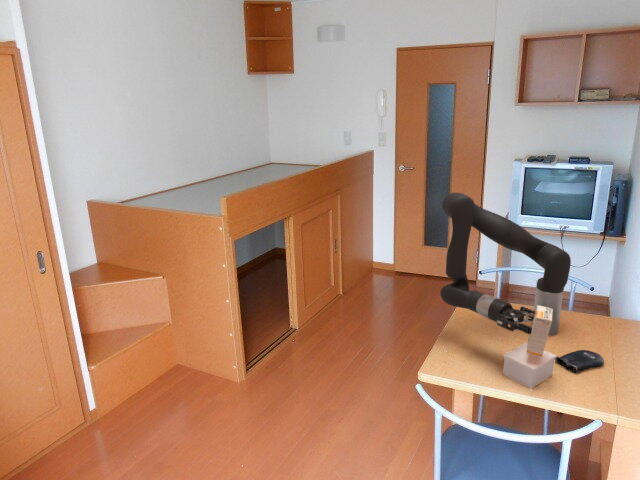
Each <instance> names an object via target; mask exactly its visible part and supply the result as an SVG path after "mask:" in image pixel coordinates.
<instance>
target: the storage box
mask: <svg viewBox="0 0 640 480" xmlns="http://www.w3.org/2000/svg"><path fill="white" fill-rule="evenodd" d="M527 343H528V342H524V343H522V344H521V345H519V346H517V347H515V348H514V349H512V350H510V351H508V352H507V353H504V354H503V355H502V356H503V358H504V359H503V360H504V361H503V370H502V375H503V376H505V377H507V378H509V379H511V380H513V381H515V382H518V383H519V384H522V385H523V386H525V387H527V388H529V389H533V388H534V387H536V386H538V385H539V384H541V383H543V382H544V381H545V380H547V379H549V378H550V377H552V376H553V372H554V365H555V358H556V356H557V355H556V354H554V353H551V352H550V351H547V350H544V351H543V355H542V357H541V356H537V355H534V354H530V353H527Z"/></svg>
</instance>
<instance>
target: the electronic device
mask: <svg viewBox="0 0 640 480" xmlns="http://www.w3.org/2000/svg"><path fill="white" fill-rule="evenodd" d="M554 363H556V364H559V365H560V366H561V367H563V368H564V369H566V370H568V371H571V372H572V373H574V374H576V373H579V372H583V371H586V370H587V371H588V370H589V369H596V368H601V367H602V366H603V365H605V358H604V357H603V356H602V355H601V354H599V353H598V352H594V351H591V350H588V349H579V350H576V351H575V350H574V351H571V352H569V353H566V354H564V355H561V356H557V355H556V358H555V359H554ZM563 363H565V364H563Z"/></svg>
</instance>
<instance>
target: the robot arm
mask: <svg viewBox="0 0 640 480" xmlns="http://www.w3.org/2000/svg"><path fill="white" fill-rule="evenodd" d="M441 207H442V209H443V212H444V214H445V215H446V216H447V217H449V218H450V219H451V223H452V233H451V239H450V242H449V245H448V248H447V251H446V252H447V253H446V259H445V274H446V276H447V277H448V278H450V279H452V283H449V284H448V283H447V284H446V285H444V286H443V287H442V288H441V289H440V293H439V294H440V295H439V296H440V298H441V300H442V301H443V302H444V303H445V304H448V305H449V306H451V307H455V308H456V307H457V308H462V309H467V310H469V311H472V312H474V313H476V314H479V315H480V316H482V317H484V318H486V319H488V320H491V321H493V322H495V323H496V325H497V326H499V327H501V328H502V329H505V330H507V331H510V332H514V331H518V332H519V331H520V332H523V333H525V334H528V335H529V334H531V331H532V328H531V327H532V326H529V325H527V324H524V323H530V322H531V324H532V323H533V319H534V315H535V311H536V308H537V305H539V306H543V307H548V308H551V309H553V314H552V323H551V327H550V330H549V334H548V337H550V336H555V335H558V333H559V328H560V322H561V315H562V305H563V297H564V292H565V291H564V290H565V287H566V285H567V283H568V280H569V274H570V270H571V264H572V263H571V261H572V259H571V256H570V254H569V252H567V251H566V250H564V249H563V248H560V247H559V246H557V245H554V244H552V243H550V242H547V241H545V240H542V239H540V238H538V237H536V236H534V235H532V234H531V232H529V231H528V230H526V229H525V228H523V227H522V225H519V224H517V223H516V222H514V221H512V220H511V219H508V218H506V217H504V216H503V215H500V214H498V213H495V212H492V211H489V210H488V209H485V208H482V207H481V206H479V205H478V204H476V203H475V201H474V199H473V198H471V197H470V196H469V195H466V194H465V193H461V192H451V193H449V194H447V195H445V197H444V198H443V200H442V205H441ZM472 227H473V228H474V229H475V230H477V231H478V232H479V233H481V234H482V235H484V236H485V237H487V238H488V239H489V240H491V241H492V242H495V243H496V244H498V245H500V246H502V247H504V248H506V249H508V250H511V251H514V252H518V253H521V254H522V255H525V257H528V258H530V259H531V260H532V261H533V262H534V263H536V264H538V266H540V267H541V268H542V269H544V272H543V276H542V277H540V278H538V279H537V280H536V286H535V287H536V288H535V295H534V296H535V297H534V302H533V303H534V305H533V309H530V308H528V307H525V306H520V307H519V309H517V308H514V307H513V306H512V304H511V303H510V302H508V301H505V300H503V299H501V298H498V297H496V296H493V295H489V294H485V293H483V292H481V291H478V290H470V285H469V284H470V283H469V280H468V275H467V261H468V248H469V241H470V236H471V230H472Z"/></svg>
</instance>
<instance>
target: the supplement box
mask: <svg viewBox="0 0 640 480" xmlns="http://www.w3.org/2000/svg"><path fill="white" fill-rule="evenodd" d="M552 314H553V309H551V308H548V307H543V306H539V305H537V308H536V311H535V315H534V319H533V323H532V322H531V326H530V327H531V328H532V331H531V334H528V338H527V342H526V343H527V353H530V354H534V355H537V356H541V357H542V355H543V351H545V347H546V344H547V340H548V337H549V336H548V334H549V330H550V327H551V323H552Z"/></svg>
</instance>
